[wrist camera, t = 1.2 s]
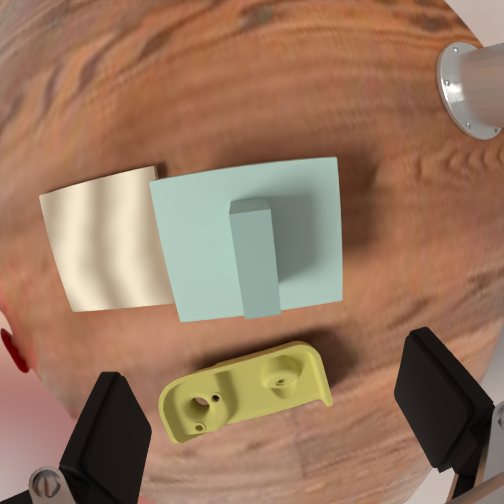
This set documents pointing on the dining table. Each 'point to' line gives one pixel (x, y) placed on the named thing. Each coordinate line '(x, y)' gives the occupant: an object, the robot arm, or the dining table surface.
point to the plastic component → (243, 390)
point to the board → (108, 242)
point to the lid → (251, 237)
